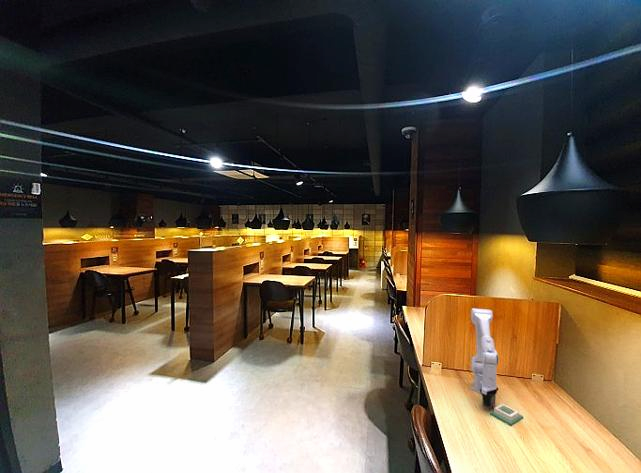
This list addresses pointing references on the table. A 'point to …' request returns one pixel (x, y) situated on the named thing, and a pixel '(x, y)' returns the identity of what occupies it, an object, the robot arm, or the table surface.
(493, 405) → the plug
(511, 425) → the board
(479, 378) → the robot arm
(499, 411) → the frame
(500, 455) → the table surface
